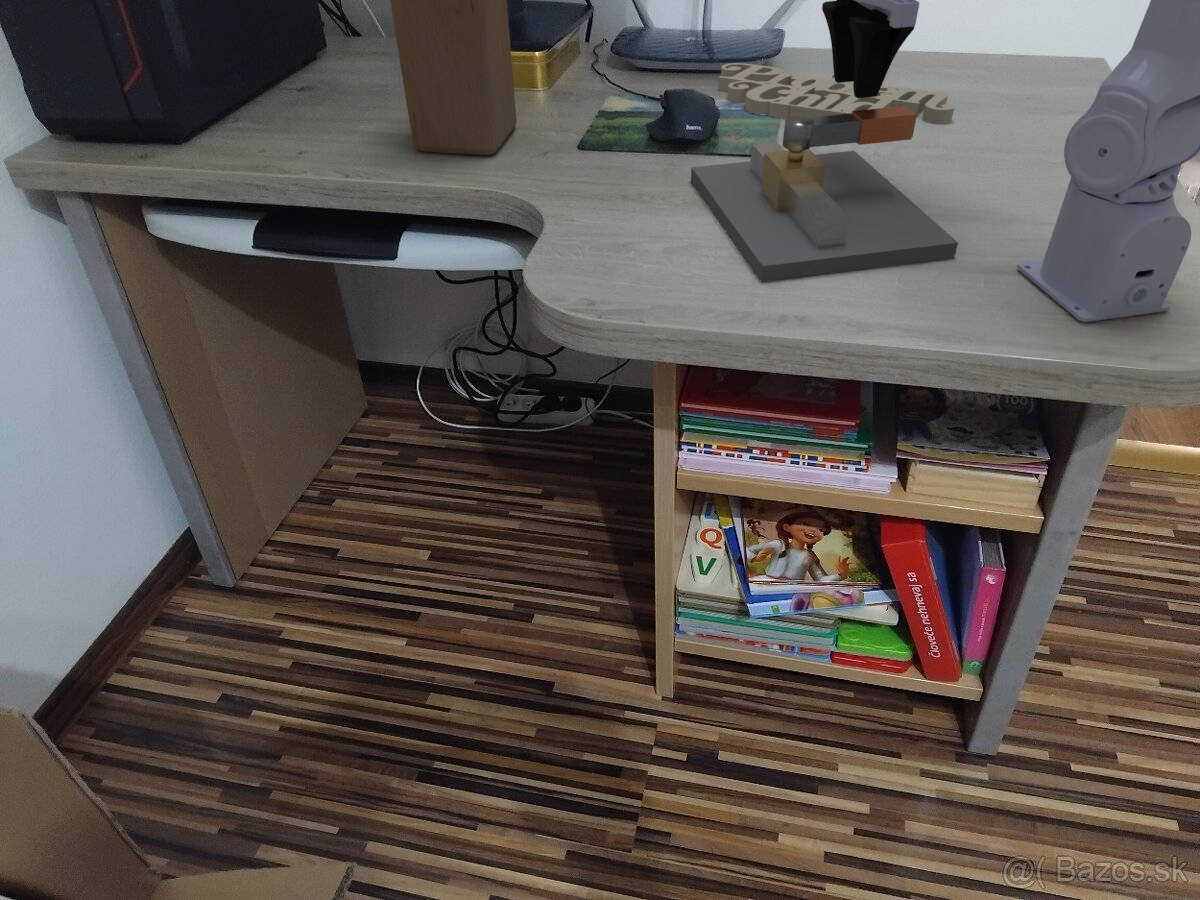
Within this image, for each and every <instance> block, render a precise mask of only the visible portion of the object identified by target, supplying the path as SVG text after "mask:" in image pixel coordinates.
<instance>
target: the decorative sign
mask: <svg viewBox="0 0 1200 900" xmlns="http://www.w3.org/2000/svg"><path fill="white" fill-rule="evenodd" d="M720 68H721V69H720V75H719V76H718V84H717V85H718V86H717V87H718V88H717V91H719V92H725V93H727V101H729V102H730V103H737V104H740V102H741V103H745V105H744V110H745V109H746V110H747V111H748V112H747V111H746V110H745V111H746V112H747V113H749V112H751V113H756V114H765V115H769V116H774V117H773V118H775V117H777V118H776V119H783V120H786V119H787V118H790V117H807V118H810V117H820V116H831V115H841V114H851V113H852V111H857V110H868V109H878V108H888V107H899V106H905V107H906V108H908V109H909V110H911V111H912V112H913V113H915V114H916V115H917V117H916V118H918V115H919V114H920V113H921V112H922V111H923V112H922V121H923V122H925V123H929V124H932V125H933V124H934V125H948V124H951V123H952V120H953V115H954V111H955V106H954V105H953V104H947V101H948V98H949V94H948V93H946V92H941V91H928V90H926V89H912V88H909V87H897V86H896V87H892V86H889V85H882V86H881V88H880V90H879V92H878V95H877V96H876V97H866V98H856V97H855V96H854V88H853V82H842V83H837V82H836V81H835V78H834V74H832V77H831V79H829V80H826V79H825V78H821V77H816V76H807V77H805V76H804V75H803V74H794V73H793V74H792V73H787V72H785V70H784V69H782V68H780V67H777V66H769V65H760V64H753V63H741V62H733V63H731V62H730V63H725V64H723V65H721V67H720ZM751 113H750V114H751ZM769 116H768V117H769Z"/></svg>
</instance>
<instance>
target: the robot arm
mask: <svg viewBox="0 0 1200 900" xmlns="http://www.w3.org/2000/svg"><path fill="white" fill-rule="evenodd" d="M821 5H822V6H821V11H822V13H823V15H824V18H825V21H826V23H827V28H828V32H829V37H830V43H831V51H832V53H831V55H832V65H833V75H834V78H835V81H836V82H837V83H842V82H853V88H854V96H855V97H856V98H866V97H876V96H877V95H878V92H879V90H880V88H881V86H883V83H884V80H885V79H886V76H887V74H888V72H889V70H890V67H891V66H892V62H893V60H894V59H895V57H896V55H897V53H898V51H899V50H900V49H901V47H902V45H903V44H904V42H905V41H906V39H908V37H909V36H910V35H911V34H912V33H913V31H914V30H915V27H916V25H917V24H916V23H917V19H918V13H919V7H920V2H919V1H918V0H829V1H825V2H823V3H822V4H821ZM1135 36H1136V37H1135V38H1134V41H1133V44H1132V46H1131V49H1130V50H1129V51H1128V52H1127V54H1126V55H1125V56H1124V57H1123V58H1122V60H1121V61H1120V62H1119V63H1118V64H1117V65H1116V66H1115V68H1114V69H1113V70H1112V71H1111V72H1110V73H1109V74H1108V75H1107V77H1106V78H1105V79H1104V80H1103V81H1102V83H1101V84H1100V86H1099V88H1098V91H1097V93H1096V95H1095V98H1094V100H1093V102H1092V103H1091V105H1090V107H1089V108H1088V109H1087V111H1086V112H1085V113H1084V114H1083V115H1081V116H1080V118H1078V119H1077V121H1075V123H1074V124H1073V125H1072V127H1071V128H1070V130H1069V132H1068V134H1067V136H1066V140H1065V141H1064V147H1063V158H1064V163H1065V167H1066V171H1067V173H1068V174H1069V176H1070V179H1069V183H1068V185H1067V189H1066V191H1065V195H1064V198H1063V201H1062V202H1061V206H1060V209H1059V213H1058V216H1057V219H1056V222H1055V225H1054V227H1053V231H1052V232H1051V233H1052V234H1051V237H1050V240H1049V242H1048V246H1047V249H1046V252H1045V255H1044V258H1043V259H1035V260H1034V259H1033V260H1027V261H1021V262H1018V263H1017V266H1016V268H1017V269H1018V270H1019V271H1020V272H1021V273H1022V274H1023V275H1024V276H1025V277H1027V278H1028V279H1029V280H1030V281H1031V282H1033V283H1034V284H1036V286H1038V288H1040V289H1041V290H1043V292H1045V294H1047V295H1048V296H1050V298H1052V299H1053V300H1054V301H1055V302H1057V303H1058V304H1059V305H1060V306H1061V307H1063V309H1065V310H1066V311H1067V312H1069V314H1071V315H1072V316H1073V317H1075V319H1077V320H1078V321H1080V322H1082V323H1087V322H1096V321H1103V320H1111V319H1118V318H1125V317H1131V316H1138V315H1139V316H1140V315H1147V314H1153V313H1154V314H1155V313H1161V312H1162V313H1163V312H1168V311H1169V310H1170V309H1171V307H1172V306H1171V305H1172V304H1171V303H1169V302H1168V301H1166V299H1167V296H1168V294H1169V291H1170V290H1171V287H1172V286H1173V285H1172V284H1173V282H1174V280H1175V278H1176V276H1177V274H1178V272H1179V269H1180V267H1181V265H1182V262H1183V259H1184V257H1185V255H1186V253H1187V251H1188V248H1189V246H1190V244H1191V239H1192V229H1191V225H1190V223H1189V220H1187V219H1186V218H1185V217H1184V216H1183V215H1182V214H1181V213H1180V211H1179V210H1178V208H1177V206H1176V204H1175V199H1174V193H1175V191H1176V188H1177V184H1178V180H1179V179H1178V177H1179V176H1178V175H1179V170H1180V168H1181V166H1182V165H1183V164H1185V163H1187V162H1189V161H1190V160H1192V159H1194V158H1195V157H1196V156H1198V154H1199V153H1200V0H1150V1H1149V3H1148V6H1147V9H1146V12H1145V14H1144V16H1143V18H1142V21H1141V23H1140V25H1139V29H1138V31H1137V34H1136V35H1135Z"/></svg>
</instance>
